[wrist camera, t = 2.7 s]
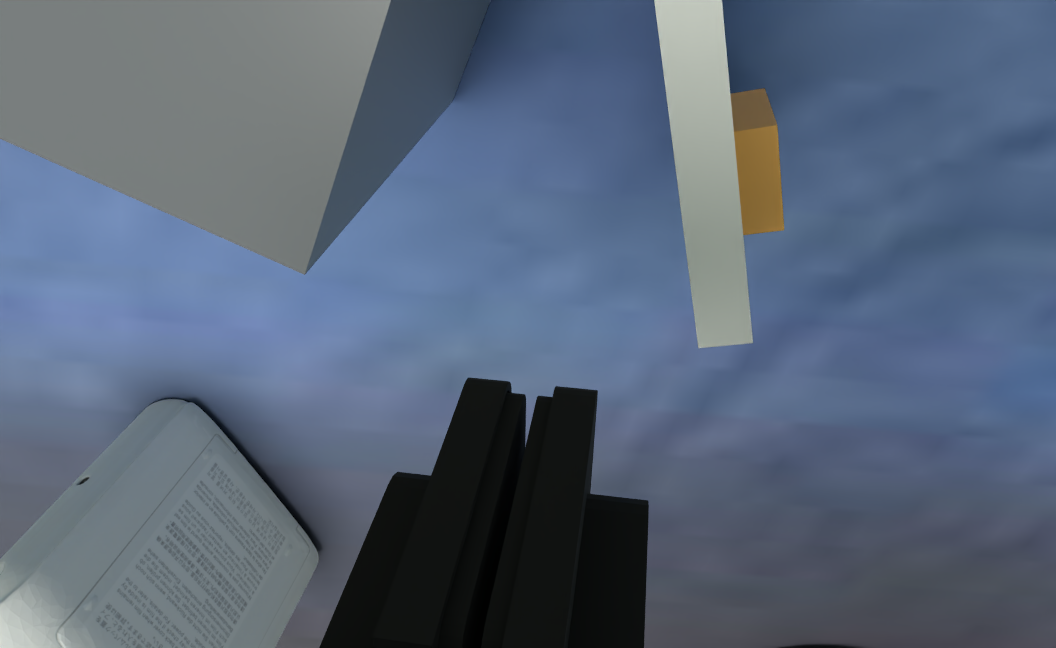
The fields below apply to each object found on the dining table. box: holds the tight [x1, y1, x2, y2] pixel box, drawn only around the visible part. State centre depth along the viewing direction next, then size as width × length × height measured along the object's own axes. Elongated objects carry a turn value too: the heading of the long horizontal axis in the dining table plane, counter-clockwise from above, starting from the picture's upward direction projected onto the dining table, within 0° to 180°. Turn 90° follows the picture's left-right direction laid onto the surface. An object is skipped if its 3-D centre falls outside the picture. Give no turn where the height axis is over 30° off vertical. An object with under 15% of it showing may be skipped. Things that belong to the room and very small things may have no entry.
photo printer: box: [0, 399, 319, 648], centre depth 31 cm, size 10×4×12 cm, turn 30°
